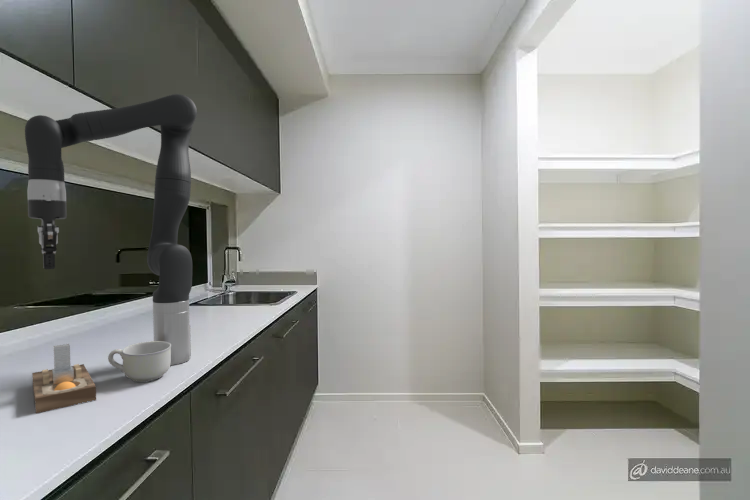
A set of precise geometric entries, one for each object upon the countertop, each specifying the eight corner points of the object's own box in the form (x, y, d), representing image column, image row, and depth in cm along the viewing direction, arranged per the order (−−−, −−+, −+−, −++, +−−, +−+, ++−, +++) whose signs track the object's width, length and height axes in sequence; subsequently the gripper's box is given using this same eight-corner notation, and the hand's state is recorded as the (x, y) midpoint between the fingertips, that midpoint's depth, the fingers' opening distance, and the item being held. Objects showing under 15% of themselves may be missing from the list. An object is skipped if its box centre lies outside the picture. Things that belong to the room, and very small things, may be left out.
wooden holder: (32, 385, 97) (32, 364, 97) (83, 375, 104) (83, 356, 104) (36, 413, 82) (35, 388, 81) (96, 400, 88) (95, 377, 88)
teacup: (179, 370, 108) (178, 340, 108) (158, 385, 97) (158, 352, 97) (125, 371, 107) (124, 341, 107) (98, 386, 97) (98, 352, 96)
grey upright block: (52, 379, 92) (51, 346, 92) (72, 376, 94) (71, 343, 94) (53, 384, 89) (52, 349, 89) (73, 380, 91) (73, 346, 91)
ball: (66, 404, 86) (65, 405, 89) (82, 387, 89) (80, 388, 91) (48, 394, 85) (47, 395, 88) (65, 377, 87) (63, 378, 90)
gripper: (26, 200, 104) (28, 268, 105) (28, 196, 94) (30, 271, 95) (63, 202, 109) (65, 266, 110) (69, 198, 99) (71, 269, 100)
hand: (49, 268), depth 102 cm, fingers closed
